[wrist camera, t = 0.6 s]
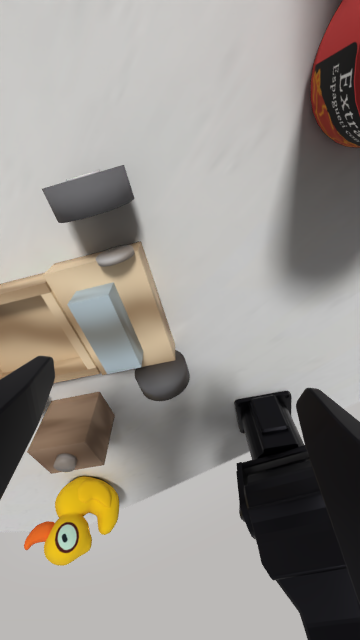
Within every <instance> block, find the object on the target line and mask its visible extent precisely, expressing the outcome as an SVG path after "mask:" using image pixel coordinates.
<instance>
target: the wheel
mask: <svg viewBox="0 0 360 640" xmlns="http://www.w3.org/2000/svg"><path fill="white" fill-rule="evenodd" d="M66 181H67V182H64V183H60V184H57V185H54V186H50V187H47V188H44V189H42V190H43V192H44V194H45V196H46V198H47V200H48V202H49V204H50V206H51V208H52V211H53V213H54V215H55V217H56V219H57V221H58V222H59V223H65V222H71V221H76V220H80V219H84V218H87V217H91V216H94V215H98V214H101V213H104V212H107V211H110V210H112V209H115V208H118V207H120V206H122V205H125V204H127V203H129V202H131V201H132V200H134V196H133V193H132V189H131V186H130V183H129V180H128V177H127V173H126V170H125V167H124V165H122V166H118V167H115V168H112V169H108V170H105V171H101V172H100V170H98V171H95V172H91V173H88V174H84V175H81V176H77V177H74V178H71V179H67V180H66Z"/></svg>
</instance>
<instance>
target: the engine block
mask: <svg viewBox="0 0 360 640" xmlns="http://www.w3.org/2000/svg"><path fill="white" fill-rule="evenodd" d="M114 416H115V415H114V413H113V412H112V410H111V409H110V407H109V406H108V404H107V402H106V401H105V399H104V398H103V396H102V395H101V393H100V392H95V393H90V394H85V395H80V396H75V397H70V398H65V399H60V400H54V401H51V403H50V405H49V407H48V409H47V411H46V413H45V415H44V418H43V420H42V422H41V424H40V426H39V428H38V430H37V432H36V434H35V436H34V439H33V441H32V443H31V445H30V447H29V449H28V451H27V452H28V453H29V454H30V455H31V456H32V457H33V458H34V459H36V460H37V461H38V462H39V463H40V464H41V465H42V466H43V467H44V468H46V469H47V470H48V471H49V472H50V473H51V474H52V473H58V472H71V471H73V470H76V469H82V468H89V467H95V466H101V465H104V463H105V458H106V454H107V449H108V444H109V439H110V435H111V430H112V425H113V420H114Z"/></svg>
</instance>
